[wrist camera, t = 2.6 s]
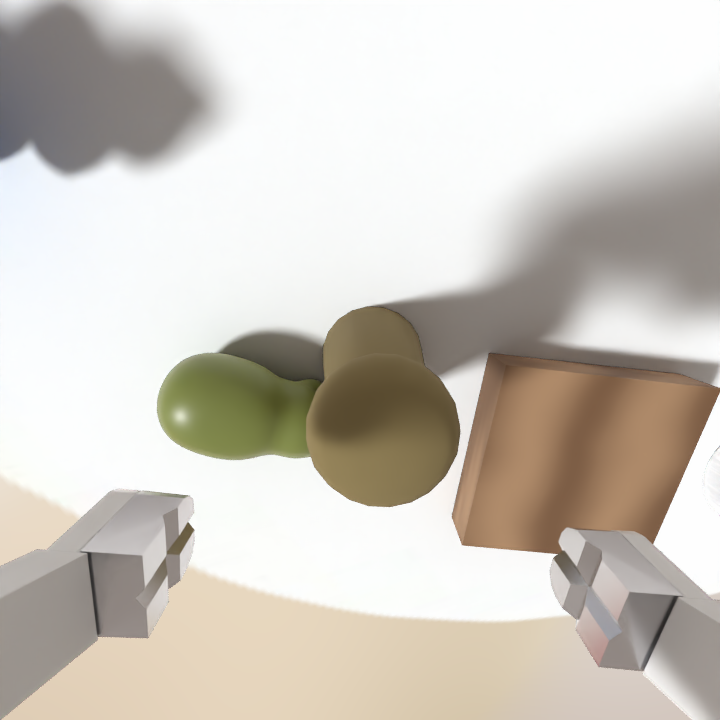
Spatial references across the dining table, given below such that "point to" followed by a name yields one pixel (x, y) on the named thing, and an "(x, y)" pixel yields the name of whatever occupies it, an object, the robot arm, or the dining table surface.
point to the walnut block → (574, 451)
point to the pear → (234, 408)
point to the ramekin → (713, 482)
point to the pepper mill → (380, 412)
